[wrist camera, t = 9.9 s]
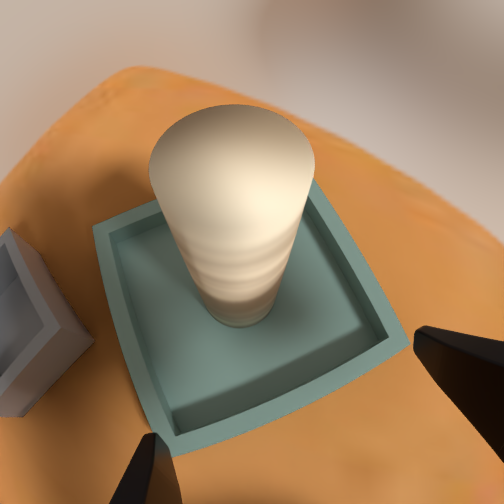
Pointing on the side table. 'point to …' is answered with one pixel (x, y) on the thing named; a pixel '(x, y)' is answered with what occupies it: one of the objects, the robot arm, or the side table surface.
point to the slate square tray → (32, 327)
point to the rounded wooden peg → (233, 203)
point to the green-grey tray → (241, 339)
